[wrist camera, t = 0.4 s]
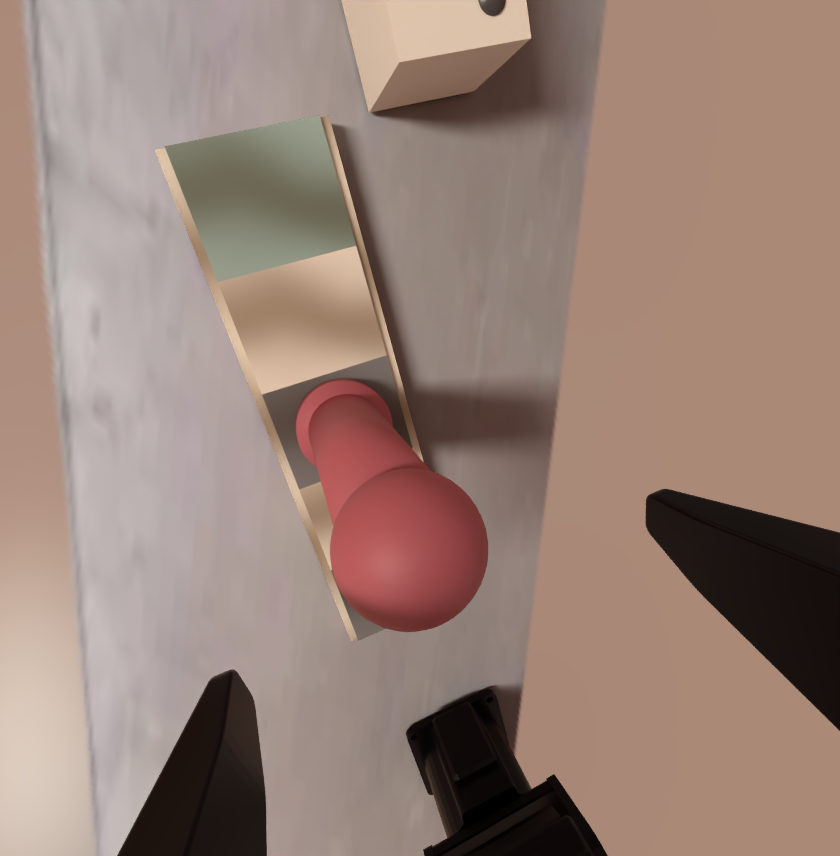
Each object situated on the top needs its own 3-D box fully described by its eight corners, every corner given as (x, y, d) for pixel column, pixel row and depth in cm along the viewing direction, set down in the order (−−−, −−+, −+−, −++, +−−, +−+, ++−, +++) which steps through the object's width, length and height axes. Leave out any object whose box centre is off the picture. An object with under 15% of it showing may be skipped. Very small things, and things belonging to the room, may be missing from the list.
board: (454, 585, 29) (460, 595, 28) (348, 631, 27) (351, 643, 26) (326, 121, 20) (329, 113, 19) (159, 155, 18) (153, 148, 17)
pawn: (396, 448, 24) (538, 627, 11) (313, 478, 23) (367, 709, 10) (372, 366, 22) (506, 470, 10) (281, 395, 21) (302, 550, 9)
